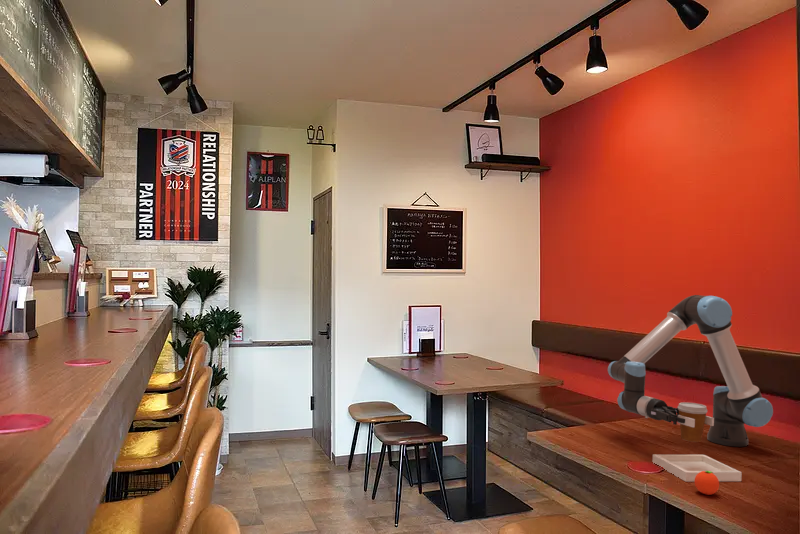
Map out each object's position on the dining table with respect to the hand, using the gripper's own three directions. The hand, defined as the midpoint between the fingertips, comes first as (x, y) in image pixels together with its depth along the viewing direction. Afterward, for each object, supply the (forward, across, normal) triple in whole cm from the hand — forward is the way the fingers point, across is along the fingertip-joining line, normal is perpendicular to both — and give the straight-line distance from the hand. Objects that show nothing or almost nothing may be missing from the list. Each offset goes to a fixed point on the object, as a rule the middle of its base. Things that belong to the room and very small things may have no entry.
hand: (703, 422), depth 213 cm
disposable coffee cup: (-5, 0, -7) cm, 9 cm away
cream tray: (-3, -1, -18) cm, 18 cm away
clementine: (+14, +14, -18) cm, 27 cm away
